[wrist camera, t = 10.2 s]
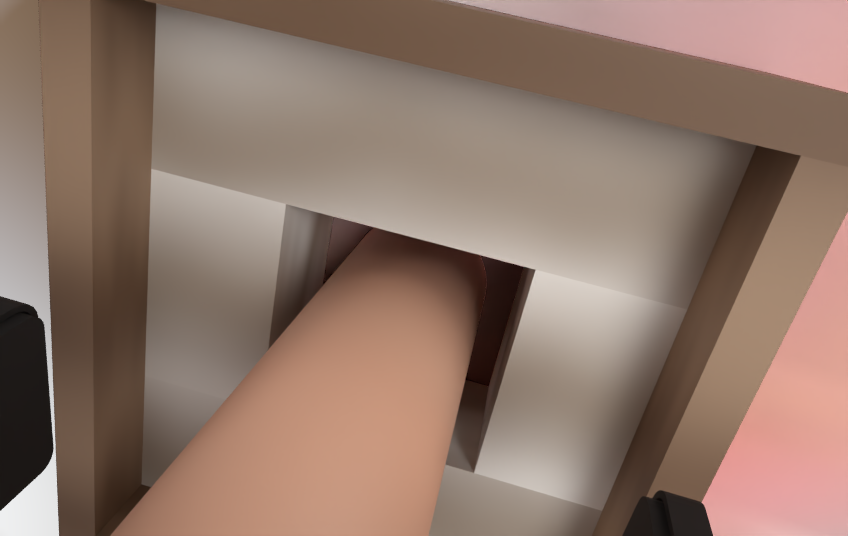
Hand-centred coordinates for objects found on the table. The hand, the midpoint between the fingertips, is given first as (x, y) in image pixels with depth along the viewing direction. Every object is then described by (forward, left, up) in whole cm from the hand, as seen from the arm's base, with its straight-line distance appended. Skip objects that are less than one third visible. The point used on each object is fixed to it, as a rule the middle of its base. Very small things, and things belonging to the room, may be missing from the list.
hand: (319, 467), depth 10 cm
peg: (+1, 0, -9) cm, 9 cm away
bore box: (+1, 0, -9) cm, 9 cm away
